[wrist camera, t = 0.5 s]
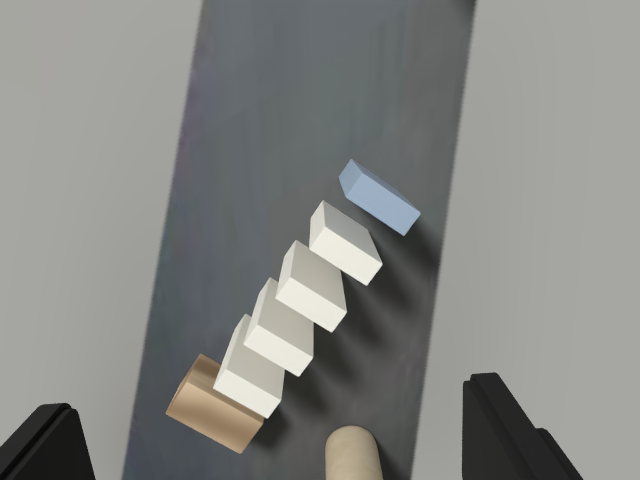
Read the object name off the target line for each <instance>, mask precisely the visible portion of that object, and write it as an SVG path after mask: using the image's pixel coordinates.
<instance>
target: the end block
mask: <svg viewBox="0 0 640 480" xmlns="http://www.w3.org/2000/svg"><path fill="white" fill-rule="evenodd" d="M220 368H221V364H219V363H217V362H215V361H213V360H212V359H210V358H208V357H206V356H205V355H203V354H201V353H200V355H199V356H198V358H197V359H196V361H195V362H194V364H193V365H192V367H191V368H190V370H189V371H188V373H187V374H186V376H185V377H184V379H183V380H182V382H181V384H180V386H179V388H178V390H177V392H176V394H175V396H174V398H173V400H172V402H171V404H170V406H169V408H168V410H167V412H166V414H167V415H169V416H171V417H172V418H174V419H176V420H178V421H180V422H182V423H184V424H185V425H187V426H189V427H191V428H193V429H195V430H197V431H199V432H200V433H202V434H204V435H206V436H208V437H210V438H212V439H213V440H215V441H217V442H219V443H221V444H223V445H225V446H226V447H228V448H230V449H232V450H234V451H236V452H238V453H240V454H241V453H242V451H243V450H244V449H245V447H246V446H247V445H248V443H249V442H250V441H251V439H252V438H253V437H254V435H255V434H256V432H257V431H258V430H259V428H260V427H261V426H262V424H263V421H264V416H262V415H260V414H258V413H256V412H255V411H253V410H251V409H249V408H247V407H246V406H244V405H242V404H240V403H239V402H237V401H235V400H233V399H231V398H230V397H228V396H226V395H224V394H222V393H221V392H219V391H217V390H215V389H213V386H214V384H215V381H216V378H217V376H218V373H219V370H220Z"/></svg>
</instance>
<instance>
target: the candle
mask: <svg viewBox="0 0 640 480" xmlns="http://www.w3.org/2000/svg"><path fill="white" fill-rule="evenodd" d="M325 457H326V480H383V476H382V471H381V465H380V460H379V454H378V449H377V444H376V441H375V439H374V437H373V435H372V434H371V433H370V432H369V431H368V430H366V429H364V428H362V427H359V426H354V425H350V426H344V427H341V428H339V429H337V430H335V431H334V432H333V433H332V434H331V435H330V436H329V438H328V440H327V442H326V448H325Z"/></svg>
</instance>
